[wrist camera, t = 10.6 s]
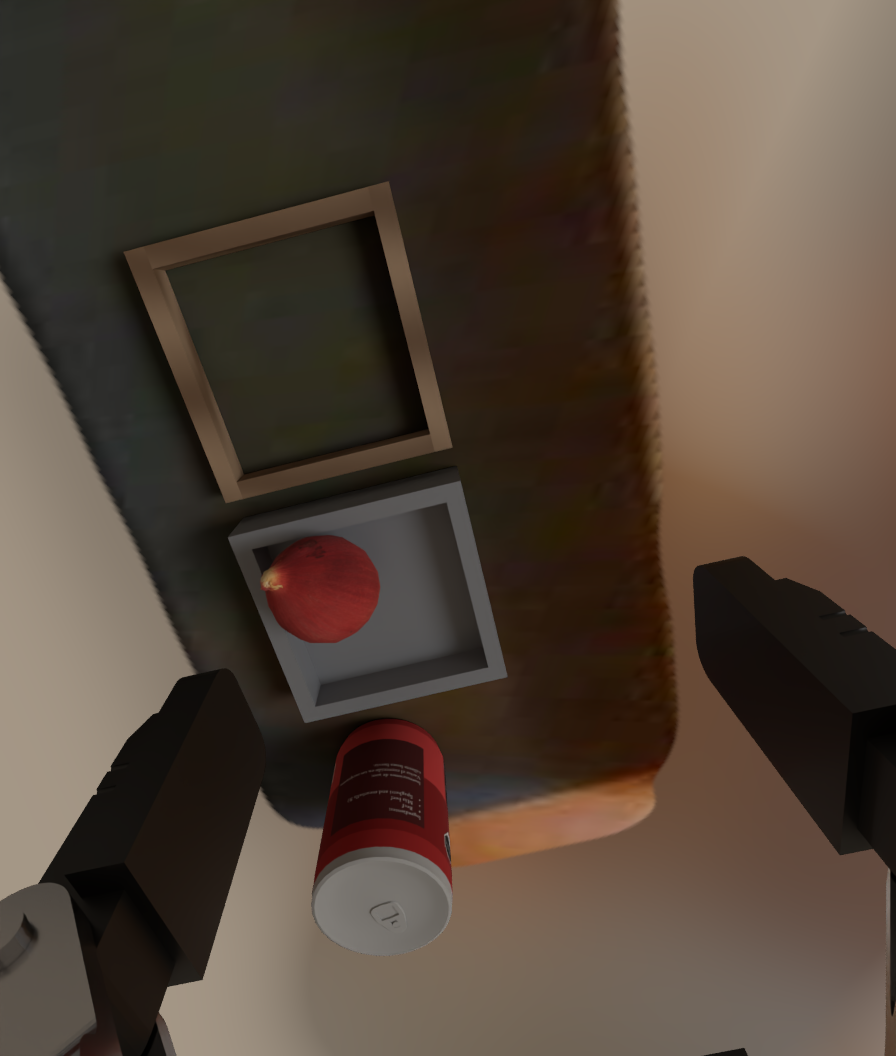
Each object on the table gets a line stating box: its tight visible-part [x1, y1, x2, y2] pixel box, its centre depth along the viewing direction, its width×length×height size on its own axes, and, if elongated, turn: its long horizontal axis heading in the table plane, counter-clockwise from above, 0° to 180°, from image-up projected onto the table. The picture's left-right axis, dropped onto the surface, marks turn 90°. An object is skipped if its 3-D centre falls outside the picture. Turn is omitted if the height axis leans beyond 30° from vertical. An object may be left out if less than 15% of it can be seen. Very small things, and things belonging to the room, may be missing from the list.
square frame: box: [124, 181, 452, 503], centre depth 30 cm, size 13×13×2 cm
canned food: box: [311, 719, 453, 956], centre depth 36 cm, size 8×8×11 cm
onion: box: [260, 535, 380, 643], centre depth 31 cm, size 6×6×8 cm
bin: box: [228, 466, 507, 723], centre depth 35 cm, size 13×13×3 cm
